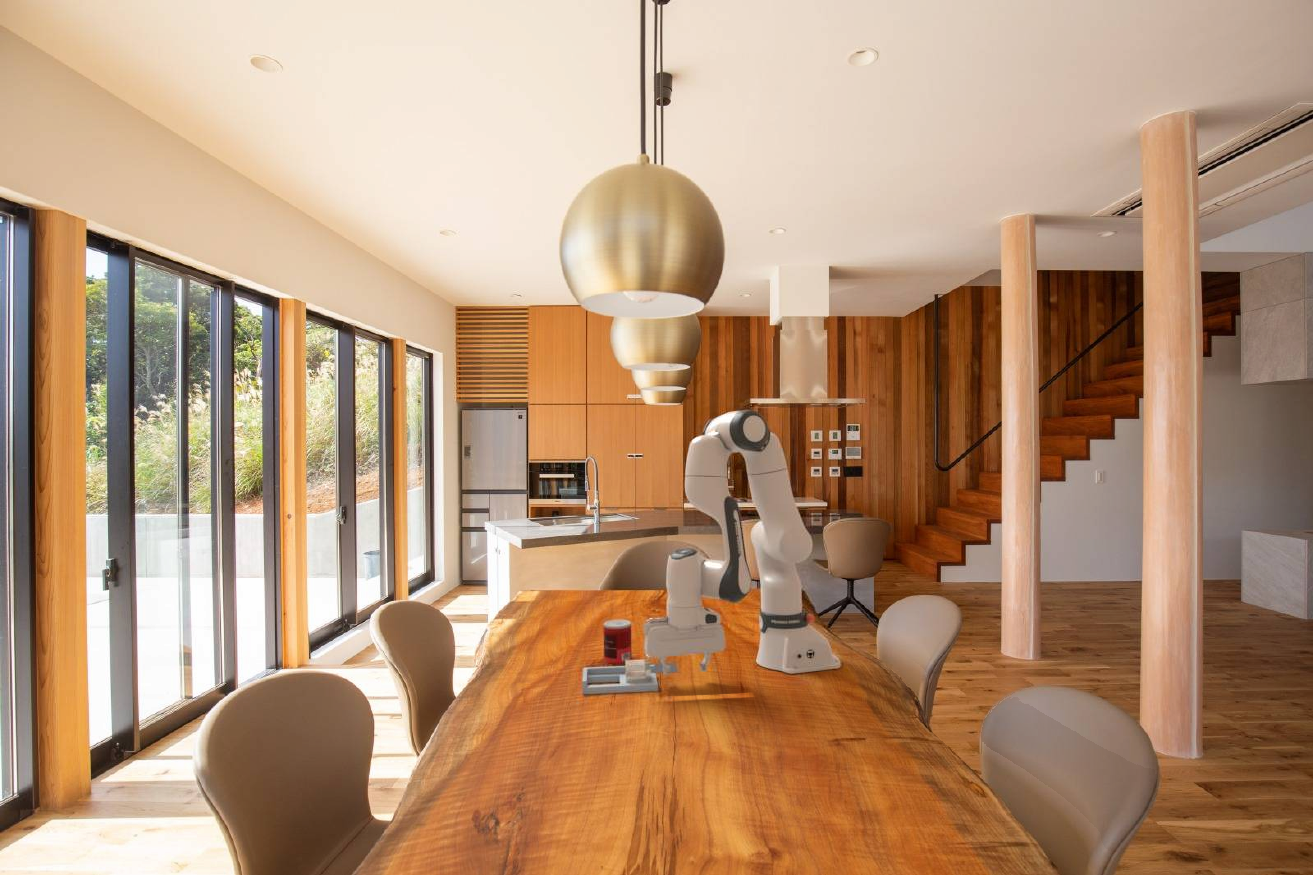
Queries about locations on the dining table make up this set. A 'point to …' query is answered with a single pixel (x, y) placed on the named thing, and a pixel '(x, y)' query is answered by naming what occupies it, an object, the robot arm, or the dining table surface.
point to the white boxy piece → (637, 675)
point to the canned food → (617, 641)
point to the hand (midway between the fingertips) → (685, 672)
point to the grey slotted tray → (615, 676)
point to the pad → (660, 668)
